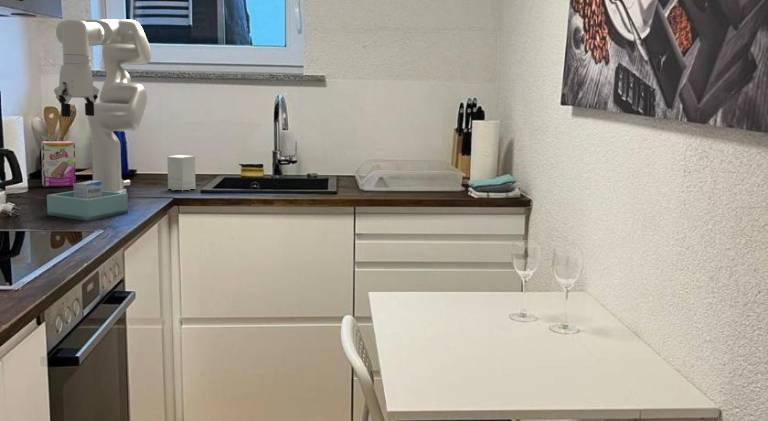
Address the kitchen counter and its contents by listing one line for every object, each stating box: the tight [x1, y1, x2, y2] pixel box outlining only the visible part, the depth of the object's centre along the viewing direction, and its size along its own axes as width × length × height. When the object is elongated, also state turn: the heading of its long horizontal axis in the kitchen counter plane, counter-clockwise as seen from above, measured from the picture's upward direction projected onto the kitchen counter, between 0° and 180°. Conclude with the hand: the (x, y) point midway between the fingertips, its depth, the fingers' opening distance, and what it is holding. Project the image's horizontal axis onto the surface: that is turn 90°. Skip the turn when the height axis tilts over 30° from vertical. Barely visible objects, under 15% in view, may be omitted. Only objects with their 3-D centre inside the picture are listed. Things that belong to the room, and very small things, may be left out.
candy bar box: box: [40, 140, 77, 188], centre depth 279 cm, size 11×5×16 cm, turn 121°
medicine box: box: [73, 180, 102, 199], centre depth 227 cm, size 8×4×9 cm, turn 166°
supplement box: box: [167, 154, 196, 192], centre depth 280 cm, size 7×7×13 cm
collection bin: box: [46, 190, 129, 222], centre depth 227 cm, size 16×16×6 cm
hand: (78, 116), depth 238 cm, fingers open, 9 cm apart
